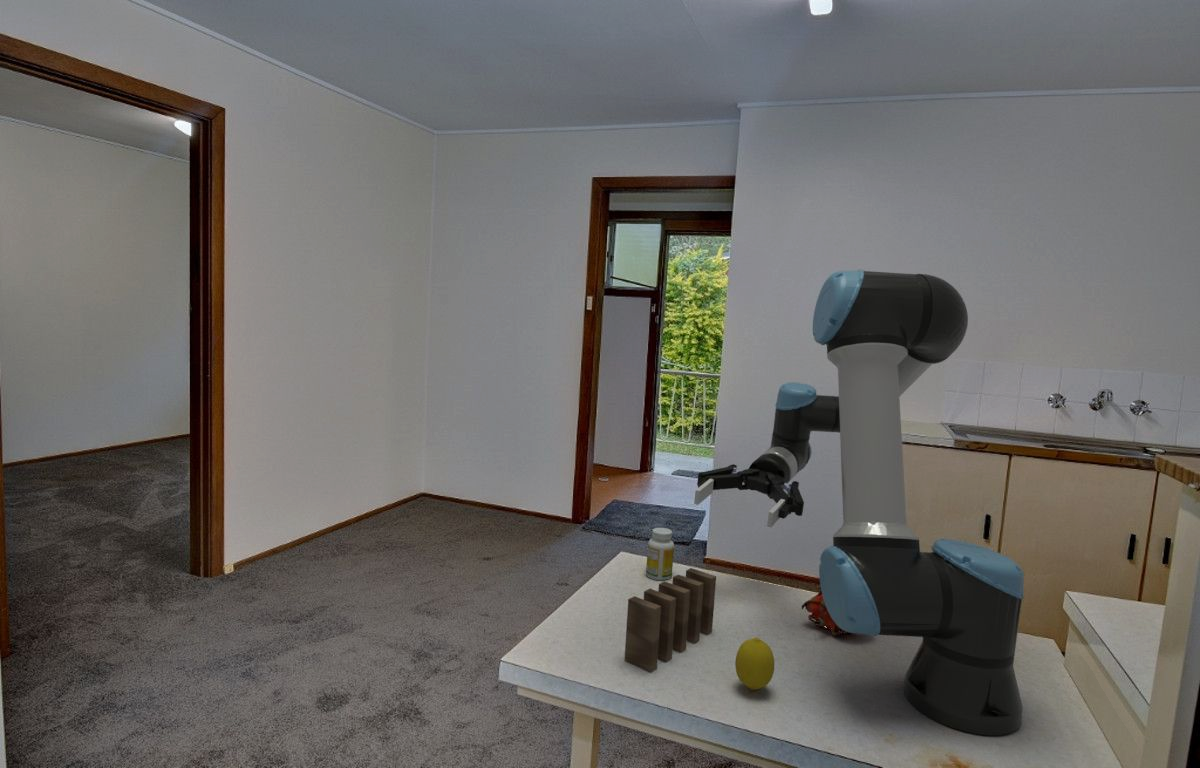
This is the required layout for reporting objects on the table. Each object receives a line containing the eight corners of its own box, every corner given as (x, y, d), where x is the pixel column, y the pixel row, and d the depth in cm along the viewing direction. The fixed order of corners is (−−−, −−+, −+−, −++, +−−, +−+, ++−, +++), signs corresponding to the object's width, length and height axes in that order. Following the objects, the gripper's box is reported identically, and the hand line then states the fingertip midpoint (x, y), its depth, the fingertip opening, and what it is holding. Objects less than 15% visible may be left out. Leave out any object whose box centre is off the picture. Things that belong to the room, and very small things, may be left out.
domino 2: (671, 658, 109) (676, 598, 108) (666, 662, 108) (670, 601, 107) (645, 647, 112) (649, 588, 111) (640, 651, 111) (644, 591, 110)
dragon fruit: (876, 650, 119) (803, 644, 124) (874, 606, 125) (805, 602, 130) (874, 623, 114) (798, 618, 118) (872, 578, 120) (800, 575, 125)
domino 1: (656, 668, 106) (661, 606, 105) (650, 672, 105) (655, 609, 104) (630, 657, 109) (634, 596, 108) (624, 660, 108) (628, 599, 107)
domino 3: (685, 649, 112) (690, 590, 111) (680, 652, 111) (685, 593, 110) (660, 638, 116) (664, 581, 114) (654, 642, 114) (658, 583, 113)
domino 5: (711, 632, 119) (716, 576, 118) (707, 635, 118) (711, 578, 117) (686, 622, 122) (690, 568, 121) (682, 625, 121) (686, 570, 120)
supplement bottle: (646, 580, 140) (649, 534, 139) (645, 569, 145) (648, 525, 144) (672, 581, 140) (676, 535, 139) (671, 571, 145) (674, 527, 144)
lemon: (772, 703, 98) (777, 649, 97) (733, 697, 99) (737, 644, 98) (771, 683, 104) (775, 632, 103) (733, 677, 105) (737, 626, 104)
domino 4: (699, 640, 116) (703, 583, 115) (694, 643, 114) (698, 585, 113) (674, 630, 119) (678, 574, 118) (668, 633, 118) (672, 577, 116)
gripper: (832, 505, 133) (800, 549, 116) (712, 472, 146) (666, 507, 128) (838, 469, 131) (806, 509, 114) (716, 438, 144) (670, 470, 126)
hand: (732, 508), depth 121 cm, fingers open, 13 cm apart
